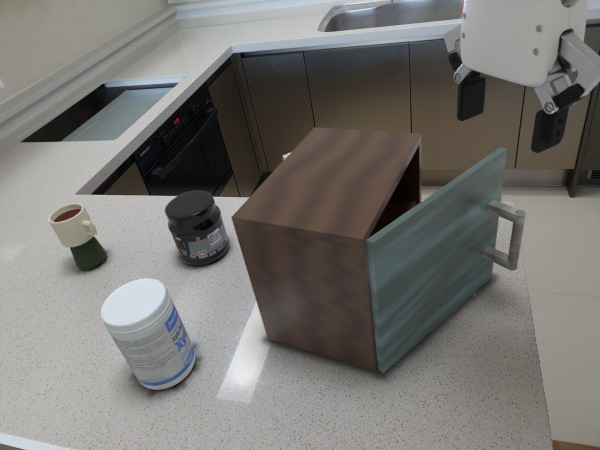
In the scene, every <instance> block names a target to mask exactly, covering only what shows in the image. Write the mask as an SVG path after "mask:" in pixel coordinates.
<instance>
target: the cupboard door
mask: <svg viewBox="0 0 600 450" xmlns="http://www.w3.org/2000/svg"><path fill="white" fill-rule="evenodd" d="M507 155H508V148H505V147H502V146H501V147H499V148H497V149H496V150H494V151H493V152H491V153H490V154H489V155H487V156H486V157H485V158H483V159H481V160H479V161H478V162H477V163H476V164H474V165H473V166H472V167H470V168H469V169H467V170H465V171H464V172H462V173H461V174H459V175H457V177H455V178H454V179H452V180H451V181H449V182H447V184H445V185H443V186H442V187H441V188H440V189H439V188H438V190H436V191H434V193H432V194H430V195H429V196H428V197H426V198H425V199H423V200H421V203H419V204H418V205H416V206H415V207H413V208H412V209H410V210H409V211H407V212H406V213H405V214H403V215H402V216H400V217H399V218H397V219H396V220H394V221H393V222H391V223H390V224H389V225H387V226H386V227H384V228H383V229H381V230H380V231H378V232H377V233H376V234H374V235H373V236H371V237H370V238H368V239H367V240H366V241H367V252H368V263H369V274H370V285H371V296H372V308H373V319H374V330H375V341H376V352H377V363H378V366H377V370H378V371H379V372H380V373H381V374H382V375H384V374H385V373H386V372H387V371H388V370H390V369H391V368H392V367H393V366H394V365H395V364H396V363H398V362H399V361H400V360H401V359H402V358H403V357H405V355H406V354H407V353H408V352H410V351H411V350H412V349H413V348H414V347H415V346H417V345H418V344H420V342H421V341H422V340H423V339H424V338H425V337H427V336H428V335H429V334H430V333H432V331H433V330H434V329H436V328H437V327H438V326H439V325H440V324H441V323H443V322H444V321H445V320H446V319H447V318H448V317H449V316H450V315H451V314H452V313H454V312H455V311H456V310H457V309H458V308H460V307H461V306H462V304H464V303H465V302H467V300H469V298H470V297H471V296H473V295H474V294H475V293H476V292H478V290H479V289H481V288H482V287H483V286H484V285H485V284H486V283H487V282H488V281H489V280H491V279H492V277H493V269H494V264H495V265H499V266H501V267H502V268H504V269H507V270H508V271H511V272H512V271H516V270H517V269H518V264H519V257H520V252H521V246H522V240H523V235H524V234H523V233H524V228H525V220H526V215H527V212H526V211H524V210H522V209H520V208H517V207H515V206H512V205H509V204H506V203H503V202H502V195H503V188H504V179H505V172H506V171H505V170H506V163H507ZM500 218H502V219H504V220H507V221H510V222H512V227H511V234H510V239H509V240H510V241H509V249H508V253H505V252H503V251H501V250H498V249H497V248H496V245H497V236H498V228H499V222H500V221H499V219H500Z"/></svg>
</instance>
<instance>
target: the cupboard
mask: <svg viewBox="0 0 600 450" xmlns="http://www.w3.org/2000/svg"><path fill="white" fill-rule="evenodd" d="M289 153H290V154H289V155H288V156H287V158H286V159H285V160H284V161H282V162H280V164H279V165H278V166H277V167H276V168H275V169H274V170H273V171H272V172H271V174H270V175H269V176H268V177H267V178H266V179H265V180H264V181H263V182H262V183H261V185H260V186H259V187H258V188H257V189H256V190H255V191H254V192H253V193H252V194H250V196H249V197H248V198H247V200H246V201H245V202H244V203H243V204H242V205H241V206H240V207H239V208H238V209H237V210H236V211H235V213H233V215H232V216H230V217H231V221H232V224H233V228H234V231H235V234H236V238H237V242H238V245H239V248H240V251H241V254H242V257H243V262H244V265H245V268H246V271H247V275H248V278H249V282H250V284H251V288H252V291H253V294H254V298H255V302H256V304H257V308H258V311H259V314H260V318H261V321H262V325H263V327H264V331H265V334H266V337H267V340H269V341H272V342H275V343H279V344H282V345H285V346H289V347H292V348H296V349H299V350H302V351H305V352H309V353H312V354H316V355H319V356H323V357H326V358H329V359H333V360H336V361H339V362H343V363H346V364H350V365H353V366H357V367H359V368H363V369H366V370H369V371H373V372H376V371H377V370H378V363H377V352H376V341H375V330H374V319H373V308H372V296H371V285H370V274H369V263H368V252H367V241H366V240H367V239H368V238H370V237H371V236H373V235H374V234H376V233H377V232H378V231H380V230H381V229H383V228H384V227H386V226H387V225H389V224H390V223H391V222H393V221H394V220H396V219H397V218H399V217H400V216H402V215H403V214H405V213H406V212H407V211H409V210H410V209H412V208H413V207H415V206H416V205H418V204H419V203H421V202H422V133H417V132H401V131H400V132H399V131H383V130H368V129H367V130H365V129H352V128H351V129H350V128H335V127H334V128H333V127H331V128H330V127H316V126H315V127H313V128H312V130H310V132H308V133H307V135H306V136H305V137H304V138H303V139H301V141H300V142H299V143H298V144H297V146H296V147H294V148H293V150H292V151H291V152H289Z"/></svg>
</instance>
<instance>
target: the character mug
mask: <svg viewBox="0 0 600 450" xmlns="http://www.w3.org/2000/svg"><path fill="white" fill-rule="evenodd" d="M47 221H48V223H49V225H50V227H51V228H52V230H53V232H54V233H55V235H56V237H57V239H58V240H59V241H60V243H61V245H62V247H65V248H69V249H70V252H71V256H72V258H73V260H74V263H75V264H76V267H77V268H78V269H79V270H84V271H85V270H89V269H92V268H94V267H96V266H97V265H99V264H100V263H102V262H103V261H104V260H105V259H106V258H107V257H108V253H107V251H106V250H105V248H104V247H103V246H102V244H101V242H100V241H99V240H98V239H97V237H95V236H96V235H98V230H97V229H96V228H97V227H96V225H95V224H94V223H93V221H92V219H91V215H90V214H89V212H88V211H87V209H86V206H84V204H83V203H82V202H69V203H66V204H64V205H62V206H60V207H57V208H56V209H54V210H53V211H52V212H51V213H49V215H48V217H47Z"/></svg>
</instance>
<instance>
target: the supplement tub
mask: <svg viewBox="0 0 600 450" xmlns="http://www.w3.org/2000/svg"><path fill="white" fill-rule="evenodd" d="M100 317H101V320H102V321H103V324H104V327H105V329H106V330H107V332H108V333H109V335H110V337H111V338H112V340H113V341H114V343H115V345H116V347H117V349H118V350H119V352H120V353H121V356H123V358H124V360H125V362H126V363H127V365H128V366H129V368H130V370H131V371H132V374H133V375H134V376H135V378H136V380H137V381H138V382H139V384H141V386H143V387H145V388H146V389H150V390H155V391H158V390H165V389H166V390H167V389H169V388H172V387H173V386H176V385H177V384H179V383H180V382H182V381H183V380H184V379H185V378H186V377H187V376H188V375H189V374H190V373H191V371H192V370H193V368H194V365H195V363H196V357H197V353H196V348H195V347H194V344H193V341H192V340H191V338H190V336H189V334H188V331H187V329H186V326H185V324H184V323H183V320H182V318H181V316H180V313H179V311H178V309H177V308H176V305H175V303H174V300H173V298H172V296H171V294H170V292H169V291H168V289H167V288H166V286H165V285H164V283H162V281H160V280H158V279H156V278H146V277H145V278H139V279H135V280H132V281H128V282H126V283H125V284H122V285H121V286H119V287H117V288H116V289H115V290H113V291H112V292H111V293H110V294H109V295H108V296H107V298H106V299H105V300H104V302H103V303H102V306H101V309H100Z"/></svg>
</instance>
